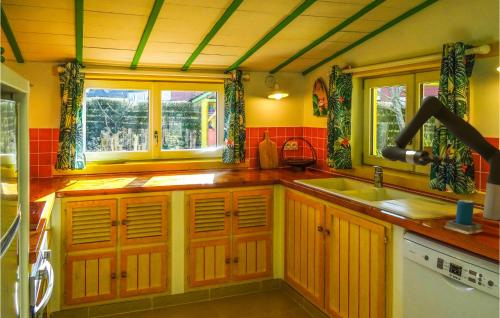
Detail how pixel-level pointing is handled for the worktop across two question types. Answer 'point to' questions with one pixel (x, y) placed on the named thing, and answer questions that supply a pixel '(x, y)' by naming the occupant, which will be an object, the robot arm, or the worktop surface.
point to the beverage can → (464, 212)
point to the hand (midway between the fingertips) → (446, 161)
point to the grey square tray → (463, 227)
